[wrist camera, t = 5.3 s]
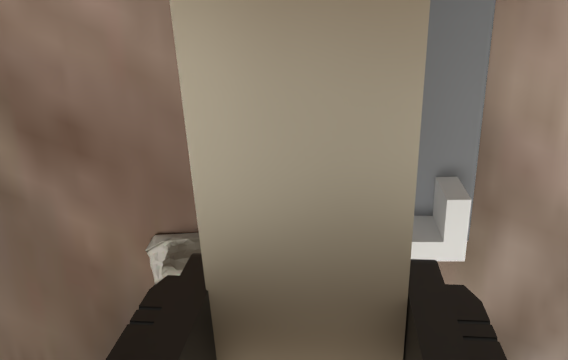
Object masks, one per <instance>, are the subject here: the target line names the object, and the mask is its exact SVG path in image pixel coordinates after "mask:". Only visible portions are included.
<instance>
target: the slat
mask: <svg viewBox="0 0 568 360" xmlns="http://www.w3.org/2000/svg"><path fill="white" fill-rule="evenodd" d="M169 1H170V9H171V17H172V25H173V33H174V41H175V48H176V56H177V64H178V72H179V80H180V88H181V96H182V104H183V112H184V120H185V128H186V136H187V144H188V152H189V160H190V167H191V175H192V183H193V191H194V199H195V207H196V215H197V223H198V231H199V239H200V247H201V255H202V263H203V271H204V279H205V287H206V290H208V293H209V301H210V309H211V317H212V325H213V333H214V341H215V349H216V357H217V360H403V354H404V341H405V328H406V314H407V301H408V288H409V275H410V262H411V248H412V235H413V222H414V209H415V196H416V183H417V169H418V156H419V143H420V130H421V117H422V104H423V90H424V77H425V64H426V51H427V38H428V25H429V11H430V0H169Z"/></svg>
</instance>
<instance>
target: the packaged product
mask: <svg viewBox="0 0 568 360" xmlns="http://www.w3.org/2000/svg"><path fill="white" fill-rule="evenodd" d="M146 252H147V254H148V256H149V257H150V266H151V269H152V271H153V276H154V282H155V285H156V284H157V283H158V282H159V281H161V280H162V279H163V278H165V277H166V276H167V275H180V274H181V272H182V270H183V269H184V267H185V265H186V263H187V261H188V260H189V258H190V256H191V255H192V254H193V253H201V247H200V239H199V233H182V234H163V235H155V236H154V237H153V238H152V240H151V242H150V243H149V245H148V247H147V248H146Z"/></svg>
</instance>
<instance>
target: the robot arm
mask: <svg viewBox="0 0 568 360" xmlns="http://www.w3.org/2000/svg"><path fill="white" fill-rule="evenodd" d="M106 360H217V357H216V349H215V341H214V333H213V325H212V317H211V309H210V301H209V293H208V290H206V287H205V279H204V271H203V263H202V255H201V253H193V254H192V255H191V256H190V258H189V260H188V261H187V263H186V265H185V267H184V269H183V270H182V272H181V274H180V275H167V276H166V277H165V278H163V279H162V280H161V281H159V282H158V283H157V284H156V285H154V286H153V287H152V288H150V289H149V291H148V292H147V294H146V296H145V297H144V299H143V301H142V302H141V304H140V305H139V310H136V312H135V313H134V315H133V317H132V318H131V320H130V324H128V325H127V326H126V328H125V329H124V331H123V333H122V334H121V336H120V337H119V339H118V341H117V342H116V344H115V346H114V347H113V349H112V350H111V352H110V354H109V355H108V357H107V358H106ZM403 360H507V358H506V356H505V354H504V352H503V349H502V347H501V345H500V343H499V342H498V341H497V336H496V333H495V331H494V329H493V327H492V325H490V320H489V317H488V315H487V313H486V311H485V308H484V306H483V304H482V302H481V301H480V300H479V299H478V298H477V297H476V296H475V295H474V294H473V293H472V292H471V291H470V290H468V289H467V288H466V287H465V286H464V285H448V284H445V283H444V280H443V278H442V275H441V272H440V269H439V266H438V263H437V261H436V260H428V259H411V262H410V275H409V288H408V301H407V314H406V328H405V341H404V354H403Z"/></svg>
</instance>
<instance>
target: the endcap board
mask: <svg viewBox="0 0 568 360" xmlns="http://www.w3.org/2000/svg"><path fill="white" fill-rule="evenodd" d="M495 2H496V0H430V11H429V25H428V38H427V51H426V64H425V77H424V90H423V104H422V117H421V130H420V143H419V156H418V169H417V183H416V196H415V209H414V222H413V235H412V248H411V259H428V260H436V261H465V254H466V245H467V241H468V240H469V231H470V222H471V213H472V205H473V196H474V187H475V178H476V169H477V161H478V152H479V143H480V134H481V125H482V117H483V108H484V99H485V90H486V81H487V73H488V64H489V55H490V46H491V38H492V29H493V20H494V11H495Z"/></svg>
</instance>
